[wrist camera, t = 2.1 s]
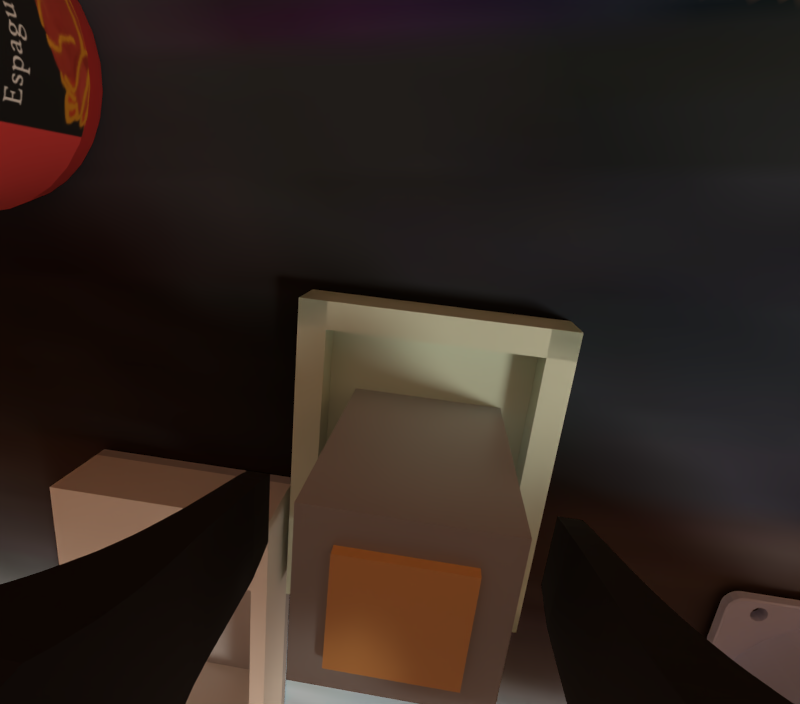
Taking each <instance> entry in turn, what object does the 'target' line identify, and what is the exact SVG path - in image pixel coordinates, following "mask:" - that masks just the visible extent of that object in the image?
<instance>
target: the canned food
mask: <svg viewBox="0 0 800 704" xmlns="http://www.w3.org/2000/svg"><path fill="white" fill-rule="evenodd" d="M102 94H103V90H102V77H101V65H100V60H99V56H98V52H97V48H96V44H95V40H94V36H93V33H92V30H91V28H90V26H89V23H88V21H87V19H86V16H85V14H84V12H83V9H82V7H81V5H80V3H79V2H78V0H0V210H6V209H10V208H13V207H16V206H18V205H21V204H24V203H26V202H29V201H31V200H34V199H36V198H39V197H41V196H44V195H46V194H49V193H50V192H52V191H53V190H55V189H56V188H58V187H59V186H60V185H62V184H63V183H65V182H66V181H67V180H68V179H69V178H70V177H71V176H72V174H73V173H74V172H75V171H76V170H77V169H78V168H79V166H80V165H81V164H82V162H83V160H84V159H85V157H86V155H87V153H88V151H89V149H90V147H91V146H92V144H93V141H94V138H95V134H96V131H97V127H98V124H99V121H100V114H101V104H102Z"/></svg>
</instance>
